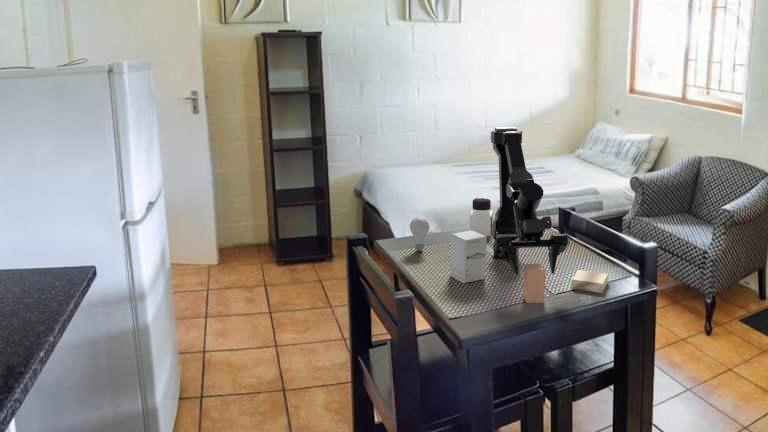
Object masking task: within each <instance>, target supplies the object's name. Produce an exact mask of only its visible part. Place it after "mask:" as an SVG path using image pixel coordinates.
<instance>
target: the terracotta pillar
mask: <svg viewBox="0 0 768 432" xmlns="http://www.w3.org/2000/svg"><path fill="white" fill-rule="evenodd" d="M523 265H524V266H523V282H522V283H523V286H522V287H523V288H522V298H523V300H524V301H525V302H526V304H541V303H542V304H543V303H545V293H546V291H545V290H546V273H547V271H546V268H545V266H543V264H542V263H524V264H523Z"/></svg>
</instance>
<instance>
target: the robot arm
mask: <svg viewBox="0 0 768 432" xmlns="http://www.w3.org/2000/svg"><path fill="white" fill-rule="evenodd" d="M490 142H491V144H492V148H493V151H494V152H495V154H496V155H497V157H498V177H499V178H498V180H499V181H498V182H499V185H498V186H499V206H498V209H497V210H496V212H495V213H494V219H492V227H491V236H490V237H491V238H492V239H493V240H494V242H493V244H492V249H493V250H492V251H493V254H492V256H491V258H493V259H502V260H504V261H506V263H507V265H509V267H510V268H511V270H512V271H513V272H514V274H515V275H516V276H518V275H519V268H518V262H517V257H518V255H519V254H520V253H519V251H520V249H526V248H527V249H528V248H529V249H530V248H547V249H548V253H547V254H548V262H549V267H550V272H551V275H554V274H555V271H556V266H557V265H556V264H557V259H558V256H560V255H561V253H564V252H565V251H566V249H567V247H568V245H569V243H570V242H569V237H568V236H567V235H566V234H565V233H562V234H559V233H557V234H554V233H553V234H551V236H550V237H549V239H542V237H544V233H545V232H546V230H551V229H552V227H553V225H552V217H551V215H549V216H548V215H545V216H542V217H541V218H538V216H537V209H538V208H539V206H540V204H541V201H542V199H543V196H544V193H545V192H544V188H542V187H543V186H541V185H540V184H539V183H536V182H535V179H534V177H533V174H532V173H530V171H528V170H527V166H526V162H525V157H524V151H523V147H522V144H523V130H522V131H521V130H519V129H517V127H516V126H511V127H510V126H509V127H507V126H505V127H504V126H503V127H502V126H501V127H497V126H496V127H494V130H491V132H490Z"/></svg>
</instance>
